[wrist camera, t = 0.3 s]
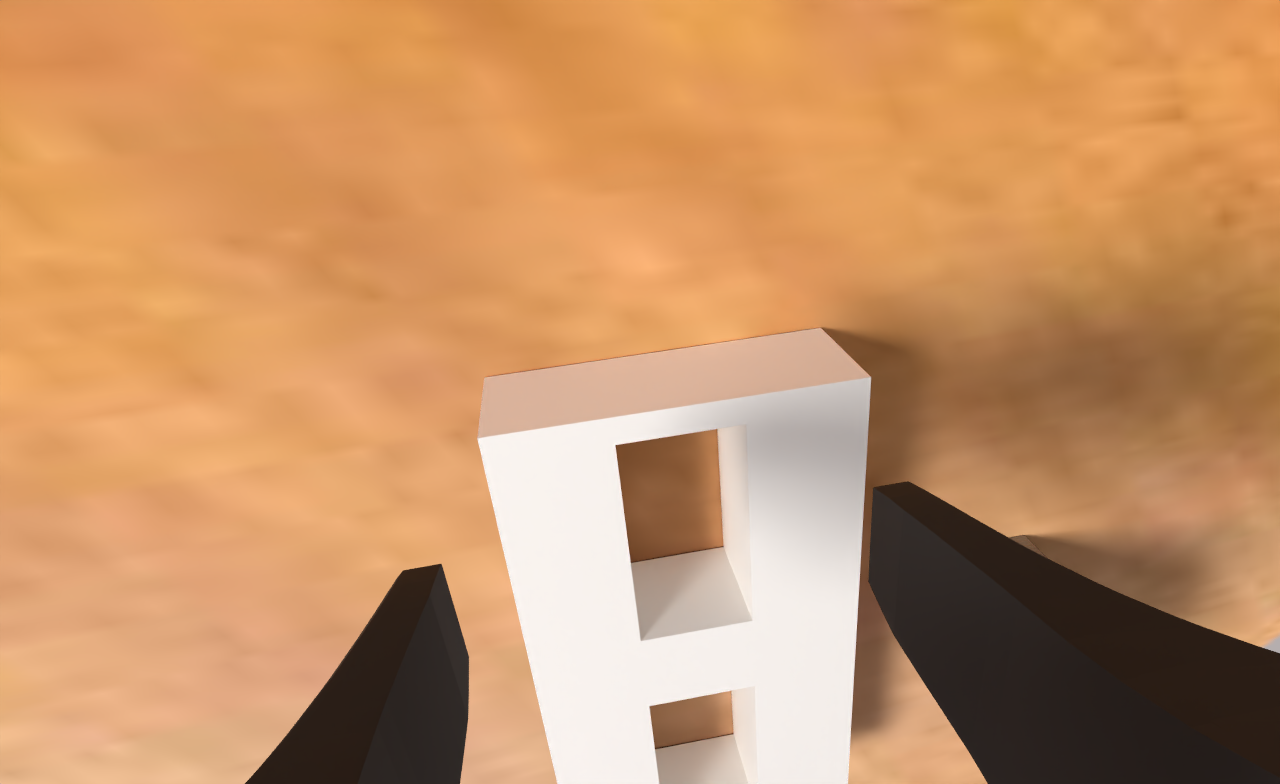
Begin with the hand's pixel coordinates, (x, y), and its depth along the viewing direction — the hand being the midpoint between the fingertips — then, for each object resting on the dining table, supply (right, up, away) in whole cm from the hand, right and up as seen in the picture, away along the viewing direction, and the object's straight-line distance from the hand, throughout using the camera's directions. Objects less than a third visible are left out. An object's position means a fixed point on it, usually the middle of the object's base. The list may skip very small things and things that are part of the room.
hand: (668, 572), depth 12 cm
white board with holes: (+1, -4, +13) cm, 14 cm away
